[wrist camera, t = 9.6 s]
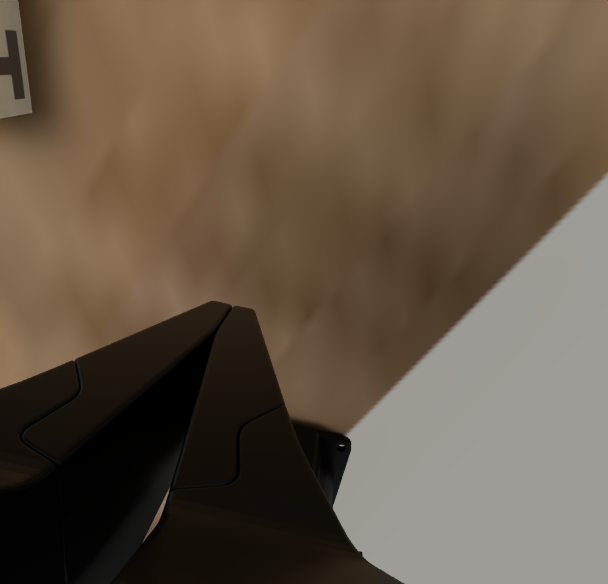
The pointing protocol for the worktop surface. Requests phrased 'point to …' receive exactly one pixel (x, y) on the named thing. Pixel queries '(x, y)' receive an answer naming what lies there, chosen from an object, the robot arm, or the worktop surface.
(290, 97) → the worktop surface
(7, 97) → the light blue box
